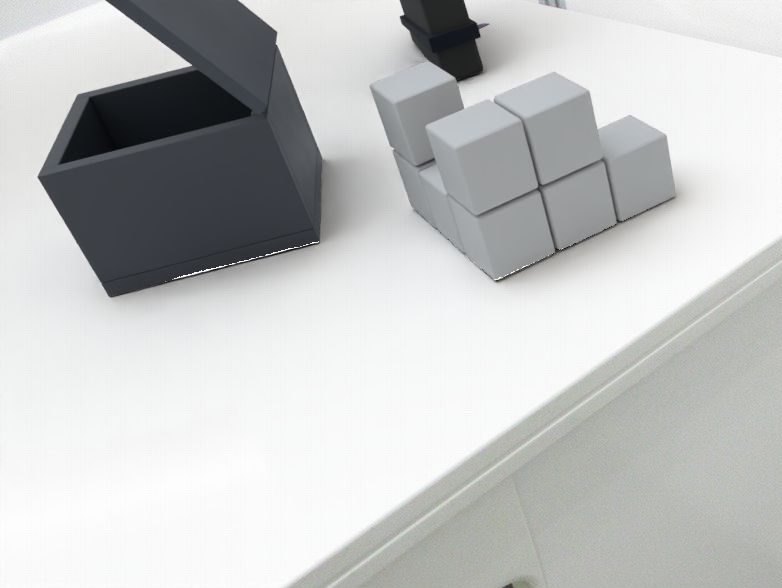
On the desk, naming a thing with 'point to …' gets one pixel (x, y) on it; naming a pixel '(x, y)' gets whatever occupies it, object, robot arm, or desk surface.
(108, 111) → the compartment
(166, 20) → the compartment lid
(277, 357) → the desk surface
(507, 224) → the puzzle cube
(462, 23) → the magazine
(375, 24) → the desk surface
